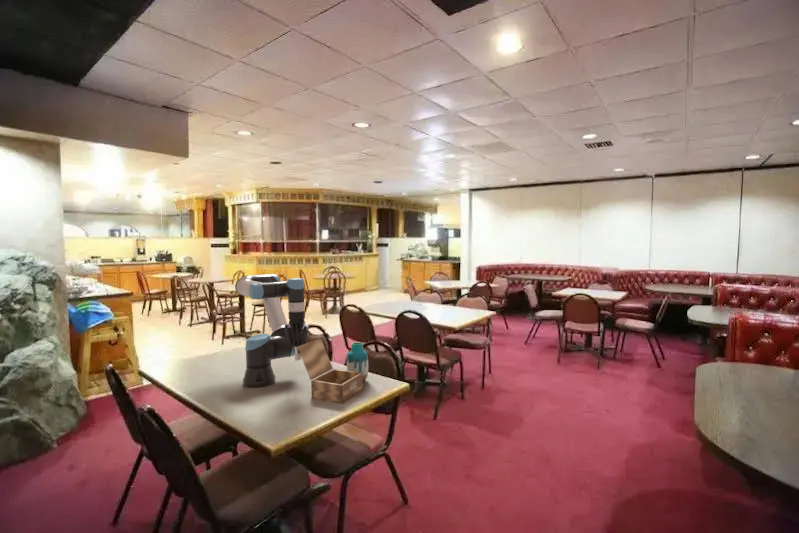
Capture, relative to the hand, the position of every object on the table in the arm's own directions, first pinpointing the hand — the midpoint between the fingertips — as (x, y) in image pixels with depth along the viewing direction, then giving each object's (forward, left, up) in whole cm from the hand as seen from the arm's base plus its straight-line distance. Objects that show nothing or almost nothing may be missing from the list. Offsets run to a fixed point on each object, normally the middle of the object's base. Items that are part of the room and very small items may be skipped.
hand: (298, 359), depth 193 cm
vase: (+22, +18, -14) cm, 32 cm away
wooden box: (+22, 0, -14) cm, 26 cm away
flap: (+11, 0, +2) cm, 11 cm away
